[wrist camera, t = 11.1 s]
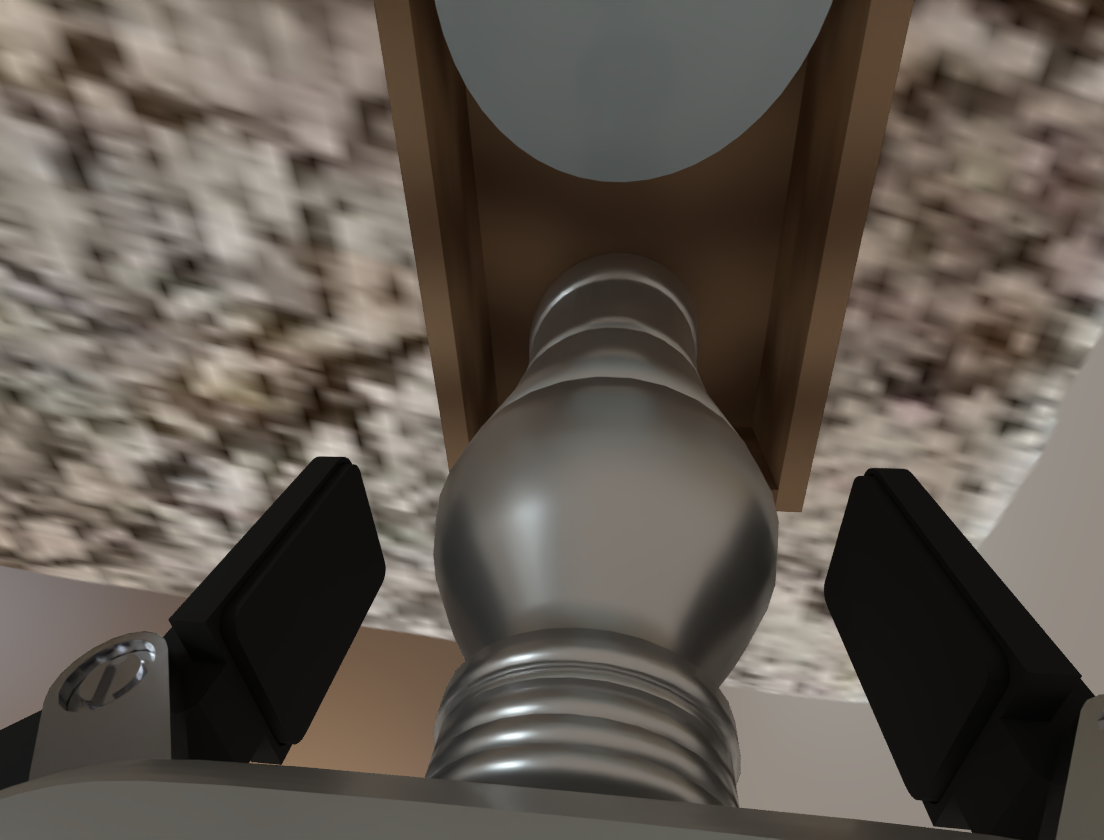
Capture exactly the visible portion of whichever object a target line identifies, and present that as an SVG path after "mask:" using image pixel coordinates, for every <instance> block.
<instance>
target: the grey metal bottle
mask: <svg viewBox="0 0 1104 840" xmlns="http://www.w3.org/2000/svg"><path fill="white" fill-rule="evenodd" d="M698 349H699V319H698V315H697V311H696V307H695V303H694V301H693V299H692V297H691V295H690V293H689V291H688V289H687V288H686V287H685V285H684V284H683V283H682V282H681V281H680V279H679V278H678V277H677V276H676V275H675V274H674V273H672V272H671V271H670V270H668V269H667V268H666V267H664V266H663V265H661V264H659V263H657V262H655V261H653V260H651V259H648V258H646V257H642V256H638V255H634V254H629V253H610V254H604V255H599V256H595V257H592V258H590V259H587V260H585V261H582V262H580V263H577V264H576V265H574V266H573V267H571V268H570V269H568V270H566V271H565V272H563V273H562V274H561V275H560V276H559V277H558V278H557V279H556V280H555V281H554V282H553V283H552V284H551V285H550V286H549V287H548V289H547V290H546V292H545V293H544V295H543V296H542V297H541V299H540V301H539V304H538V306H537V308H536V310H535V313H534V316H533V321H532V325H531V331H530V339H529V358H530V360H529V365H528V368H527V370H526V372H525V374H524V375H523V376H522V378H521V380H520V382H519V383H518V385H517V387H516V389H515V390H514V391H513V392H512V393H511V395H510V396H509V397H508V398H507V399H506V400H505V401H504V402H503V404H502V405H501V406H500V407H499V408H498V409H497V410H496V411H495V413H494V414H493V415H492V416H491V417H490V418H489V419H488V420H487V422H486V423H485V424H484V425H483V426H482V427H481V428H480V429H479V431H478V432H477V433H476V435H475V436H474V437H473V439H472V440H471V442H470V443H469V444H468V446H467V447H466V448H465V450H464V451H463V453H462V454H461V456H460V458H459V459H458V461H457V462H456V463H455V465H454V466H453V468H452V469H451V471H450V473H449V475H448V477H447V480H446V482H445V484H444V487H443V489H442V492H441V494H440V497H439V503H438V510H437V516H436V524H435V539H434V554H433V555H434V566H435V576H436V581H437V584H438V588H439V591H440V594H441V598H442V601H443V604H444V608H445V611H446V614H447V617H448V621H449V623H450V626H451V629H452V632H453V635H454V638H455V640H456V642H457V644H458V646H459V649H460V651H461V653H462V655H463V657H464V659H465V662H464V663H463V664H462V665H461V666H460V667H459V668H458V669H457V670H456V671H455V673H454V674H453V676H452V678H451V680H450V681H449V683H448V685H447V687H446V690H445V693H444V696H443V699H442V702H441V705H440V708H439V710H438V714H437V716H436V721H435V726H434V731H433V740H434V751H433V754H432V757H431V760H430V763H429V767H428V769H427V772H426V775H425V778H432V779H443V780H454V781H465V782H476V783H487V784H497V785H508V786H519V787H529V788H540V789H551V790H562V791H572V792H583V793H593V794H604V795H614V796H625V797H635V798H646V799H656V800H667V801H677V802H687V803H697V804H707V805H717V806H727V807H737V808H739V803H738V796H737V789H736V785H737V782H738V779H739V776H740V749H739V743H738V737H737V731H736V725H735V720H734V717H733V714H732V711H731V708H730V705H729V702H728V700H727V699H726V698H725V696H724V695H723V693H722V692H721V690H720V689H719V687H720V686H721V684H722V683H723V682H724V680H725V679H726V678H727V676H728V675H729V674H730V672H731V671H732V670H733V669H734V667H735V665H736V664H737V662H738V661H739V659H740V657H741V656H742V654H743V653H744V651H745V650H746V648H747V646H748V644H749V642H750V640H751V639H752V637H753V635H754V633H755V631H756V629H757V627H758V626H759V624H760V622H761V620H762V618H763V616H764V615H765V613H766V611H767V609H768V606H769V603H770V599H771V596H772V593H773V590H774V587H775V580H776V565H777V549H778V525H779V521H778V516H777V512H776V508H775V503H774V499H773V495H772V492H771V490H770V488H769V486H768V484H767V482H766V480H765V478H764V476H763V474H762V473H761V471H760V469H759V467H758V465H757V463H756V462H755V460H754V458H753V457H752V455H751V453H750V451H749V450H748V448H747V446H746V444H745V442H744V441H743V440H742V439H741V437H740V436H739V435H738V433H737V432H736V431H735V429H734V428H733V427H732V426H731V424H730V423H729V422H728V420H727V419H726V418H725V416H724V415H723V414H722V412H721V411H720V410H719V408H718V407H717V406H716V405H715V403H714V402H713V401H712V399H711V398H710V397H709V395H708V394H707V392H706V389H705V387H704V385H703V383H702V381H701V379H700V376H699V374H698V372H697V363H696V361H697V355H698Z"/></svg>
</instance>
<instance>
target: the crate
mask: <svg viewBox="0 0 1104 840" xmlns="http://www.w3.org/2000/svg"><path fill="white" fill-rule="evenodd" d="M913 2H914V0H833V1H832V4H831V7H830V9H829V11H828V14H827V16H826V18H825V20H824V23H823V25H822V27H821V29H820V32H819V34H818V36H817V38H816V40H815V42H814V44H813V45H812V47H811V49H810V51H809V52H808V54H807V56H806V58H805V60H804V61H803V63H802V65H801V67H800V68H799V70H798V71H797V72H796V74H795V75H794V77H793V78H792V79H791V81H790V82H789V84H788V85H787V86H786V88H785V89H784V91H783V92H782V93H781V95H780V96H779V97H778V98H777V99H776V100H775V101H774V103H773V104H772V105H771V106H770V107H769V108H768V109H767V111H766V112H765V113H764V114H763V115H762V116H761V117H760V118H759V119H758V120H757V121H756V122H755V123H753V124H752V125H751V126H750V127H749V128H748V129H747V130H746V131H745V132H744V133H743V134H741V135H740V136H739V137H738V138H736V139H735V140H733V141H732V142H731V143H729V144H728V145H727V146H725V147H724V148H722V149H721V150H720V151H718V152H716V153H715V154H713V155H711V156H709V157H707V158H706V159H704V160H702V161H700V162H698V163H697V164H695V165H692V166H690V167H687V168H685V169H682V170H680V171H677V172H675V173H672V174H668V175H664V176H660V177H657V178H653V179H649V180H640V181H631V182H606V181H597V180H591V179H586V178H580V177H577V176H574V175H571V174H568V173H565V172H562V171H559V170H557V169H555V168H553V167H550V166H548V165H546V164H544V163H542V162H540V161H538V160H537V159H535V158H534V157H532V156H531V155H529V154H528V153H526V152H525V151H523V150H522V149H521V148H519V147H518V146H516V145H515V144H514V143H513V142H512V141H511V140H510V139H509V138H508V137H506V136H505V135H504V134H503V133H502V132H501V131H500V130H499V129H498V128H497V127H496V126H495V125H494V123H493V122H492V121H491V120H490V119H489V118H488V116H487V115H486V114H485V113H484V112H483V111H482V109H481V108H480V106H479V105H478V103H477V102H476V100H475V99H474V97H473V96H472V94H471V93H470V91H469V90H468V88H467V86H466V85H465V83H464V81H463V79H462V77H461V75H460V73H459V71H458V69H457V67H456V65H455V63H454V61H453V58H452V56H451V53H450V50H449V48H448V45H447V43H446V40H445V38H444V35H443V31H442V27H441V24H440V20H439V16H438V13H437V9H436V5H435V0H374V6H375V12H376V18H377V24H378V31H379V37H380V43H381V49H382V56H383V62H384V68H385V74H386V80H387V87H388V93H389V99H390V105H391V112H392V118H393V124H394V130H395V137H396V143H397V149H398V155H399V161H400V168H401V174H402V180H403V186H404V193H405V199H406V205H407V211H408V217H409V224H410V230H411V236H412V242H413V249H414V255H415V261H416V267H417V274H418V280H419V286H420V292H421V298H422V305H423V311H424V317H425V323H426V330H427V336H428V342H429V348H430V354H431V361H432V367H433V373H434V379H435V386H436V392H437V398H438V404H439V411H440V417H441V423H442V429H443V435H444V442H445V448H446V454H447V460H448V467H449V473H450V471H451V469H452V468H453V466H454V465H455V463H456V462H457V461H458V459H459V458H460V456H461V454H462V453H463V451H464V450H465V448H466V447H467V446H468V444H469V443H470V442H471V440H472V439H473V437H474V436H475V435H476V433H477V432H478V431H479V429H480V428H481V427H482V426H483V425H484V424H485V423H486V422H487V420H488V419H489V418H490V417H491V416H492V415H493V414H494V413H495V411H496V410H497V409H498V408H499V407H500V406H501V405H502V404H503V402H504V401H505V400H506V399H507V398H508V397H509V396H510V395H511V393H512V392H513V391H514V390H515V389H516V387H517V385H518V383H519V382H520V380H521V378H522V376H523V375H524V374H525V372H526V370H527V368H528V365H529V360H530V358H529V339H530V331H531V325H532V321H533V316H534V313H535V310H536V308H537V306H538V304H539V301H540V299H541V297H542V296H543V295H544V293H545V292H546V290H547V289H548V287H549V286H550V285H551V284H552V283H553V282H554V281H555V280H556V279H557V278H558V277H559V276H560V275H561V274H562V273H563V272H565V271H566V270H568V269H570V268H571V267H573V266H574V265H576V264H577V263H580V262H582V261H585V260H587V259H590V258H592V257H595V256H599V255H604V254H610V253H629V254H634V255H638V256H642V257H646V258H648V259H651V260H653V261H655V262H657V263H659V264H661V265H663V266H664V267H666V268H667V269H668V270H670V271H671V272H672V273H674V274H675V275H676V276H677V277H678V278H679V279H680V281H681V282H682V283H683V284H684V285H685V287H686V288H687V289H688V291H689V293H690V295H691V297H692V299H693V301H694V303H695V307H696V311H697V315H698V319H699V349H698V355H697V361H696V363H697V372H698V374H699V376H700V379H701V381H702V383H703V385H704V387H705V389H706V392H707V394H708V395H709V397H710V398H711V399H712V401H713V402H714V403H715V405H716V406H717V407H718V408H719V410H720V411H721V412H722V414H723V415H724V416H725V418H726V419H727V420H728V422H729V423H730V424H731V426H732V427H733V428H734V429H735V431H736V432H737V433H738V435H739V436H740V437H741V439H742V440H743V441H744V442H745V444H746V446H747V448H748V450H749V451H750V453H751V455H752V457H753V458H754V460H755V462H756V463H757V465H758V467H759V469H760V471H761V473H762V474H763V476H764V478H765V480H766V482H767V484H768V486H769V488H770V490H771V492H772V495H773V499H774V503H775V508H776V511H786V512H802V508H803V503H804V499H805V494H806V489H807V485H808V480H809V476H810V471H811V467H812V462H813V458H814V453H815V448H816V444H817V439H818V435H819V430H820V426H821V421H822V417H823V412H824V408H825V403H826V398H827V394H828V389H829V385H830V380H831V376H832V371H833V367H834V362H835V357H836V353H837V348H838V344H839V339H840V335H841V330H842V326H843V321H844V316H845V312H846V307H847V303H848V298H849V294H850V289H851V285H852V280H853V276H854V271H855V266H856V262H857V257H858V253H859V248H860V244H861V239H862V235H863V230H864V225H865V221H866V216H867V212H868V207H869V203H870V198H871V194H872V189H873V185H874V180H875V175H876V171H877V166H878V162H879V157H880V153H881V148H882V144H883V139H884V134H885V130H886V125H887V121H888V116H889V112H890V107H891V103H892V98H893V94H894V89H895V84H896V80H897V75H898V71H899V66H900V62H901V57H902V53H903V48H904V43H905V39H906V34H907V30H908V25H909V21H910V16H911V12H912V7H913Z"/></svg>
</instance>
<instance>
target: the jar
mask: <svg viewBox="0 0 1104 840" xmlns="http://www.w3.org/2000/svg"><path fill="white" fill-rule="evenodd" d="M832 1H833V0H435V5H436V9H437V13H438V16H439V20H440V24H441V27H442V31H443V35H444V38H445V40H446V43H447V45H448V48H449V50H450V53H451V56H452V58H453V61H454V63H455V65H456V67H457V69H458V71H459V73H460V75H461V77H462V79H463V81H464V83H465V85H466V86H467V88H468V90H469V91H470V93H471V94H472V96H473V97H474V99H475V100H476V102H477V103H478V105H479V106H480V108H481V109H482V111H483V112H484V113H485V114H486V115H487V116H488V118H489V119H490V120H491V121H492V122H493V123H494V125H495V126H496V127H497V128H498V129H499V130H500V131H501V132H502V133H503V134H504V135H505V136H506V137H508V138H509V139H510V140H511V141H512V142H513V143H514V144H515V145H516V146H518V147H519V148H521V149H522V150H523V151H525V152H526V153H528V154H529V155H531V156H532V157H534V158H535V159H537V160H538V161H540V162H542V163H544V164H546V165H548V166H550V167H553V168H555V169H557V170H559V171H562V172H565V173H568V174H571V175H574V176H577V177H580V178H586V179H591V180H597V181H606V182H631V181H640V180H649V179H653V178H657V177H660V176H664V175H668V174H672V173H675V172H677V171H680V170H682V169H685V168H687V167H690V166H692V165H695V164H697V163H698V162H700V161H702V160H704V159H706V158H707V157H709V156H711V155H713V154H715V153H716V152H718V151H720V150H721V149H722V148H724V147H725V146H727V145H728V144H729V143H731V142H732V141H733V140H735V139H736V138H738V137H739V136H740V135H741V134H743V133H744V132H745V131H746V130H747V129H748V128H749V127H750V126H751V125H752V124H753V123H755V122H756V121H757V120H758V119H759V118H760V117H761V116H762V115H763V114H764V113H765V112H766V111H767V109H768V108H769V107H770V106H771V105H772V104H773V103H774V101H775V100H776V99H777V98H778V97H779V96H780V95H781V93H782V92H783V91H784V89H785V88H786V86H787V85H788V84H789V82H790V81H791V79H792V78H793V77H794V75H795V74H796V72H797V71H798V70H799V68H800V67H801V65H802V63H803V61H804V60H805V58H806V56H807V54H808V52H809V51H810V49H811V47H812V45H813V44H814V42H815V40H816V38H817V36H818V34H819V32H820V29H821V27H822V25H823V23H824V20H825V18H826V16H827V14H828V11H829V9H830V7H831V4H832Z"/></svg>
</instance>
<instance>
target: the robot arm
mask: <svg viewBox="0 0 1104 840" xmlns="http://www.w3.org/2000/svg"><path fill="white" fill-rule="evenodd" d="M385 571H386V567H385V561H384V557H383V554H382V550H381V546H380V543H379V539H378V535H377V532H376V528H375V524H374V521H373V517H372V513H371V510H370V506H369V502H368V498H367V495H366V491H365V487H364V484H363V480H362V476H361V473H360V470H359V468H358V466H357V465H355V464H352V463H351V461H350V460H349V459H348V458H346V457H316V458H315V459H313V460H312V461H311V462H310V463H309V464H308V466H307V467H306V468H305V469H304V470H303V471H302V472H301V473H300V474H299V476H298V477H297V478H296V479H295V480H294V481H293V482H292V483H291V484H290V486H289V487H288V488H287V489H286V490H285V491H284V492H283V493H282V494H281V495H280V497H279V498H278V499H277V500H276V501H275V502H274V503H273V504H272V505H271V507H270V508H269V509H268V510H267V511H266V512H265V513H264V514H263V515H262V517H261V518H260V519H259V520H258V521H257V522H256V523H255V524H254V525H253V526H252V528H251V529H250V530H249V531H248V532H247V533H246V534H245V535H244V536H243V538H242V539H241V540H240V541H239V542H238V543H237V544H236V545H235V546H234V548H233V549H232V550H231V551H230V552H229V553H228V554H227V555H226V556H225V557H224V559H223V560H222V561H221V562H220V563H219V564H218V565H217V566H216V567H215V569H214V570H213V571H212V572H211V573H210V574H209V575H208V576H207V577H206V579H205V580H204V581H203V582H202V583H201V584H200V585H199V586H198V587H197V588H196V590H195V591H194V592H193V593H192V594H191V595H190V596H189V597H188V598H187V600H186V601H185V602H184V603H183V604H182V605H181V607H179V608H178V610H177V611H176V612H175V613H174V614H173V615H172V616H171V617H170V618H169V622H170V623H171V625H172V628H171V629H170V630H169V631H168V632H167V633H166V634H165V636H164V637H161V636H160V635H159V634H157V633H153V632H146V631H143V632H135V633H128V634H125V635H122V636H119V637H116V638H113V639H111V640H108V641H106V642H105V643H103V644H101V645H98V646H96V647H94V648H93V649H91V650H90V651H88V652H87V653H85V654H84V655H82V656H81V657H79V658H78V659H76V660H75V661H74V662H73V663H72V664H71V665H70V666H68V668H66V669H65V670H64V671H63V672H62V673H61V674H60V675H59V677H58V678H57V679H56V680H55V682H54V683H53V684H52V685H51V687H50V688H49V691H48V693H47V695H46V698H45V700H44V703H43V708H42V710H41V711H39V712H37V713H35V714H32V715H31V716H28V717H26V718H24V719H22V720H20V721H18V722H16V723H14V724H12V725H10V726H8V727H6V728H4V729H2V730H0V840H1104V695H1098V696H1094V694H1093V693H1092V692H1091V691H1090V689H1089V688H1088V687H1087V686H1086V685H1085V684H1084V682H1083V681H1082V680H1081V679H1080V678H1081V677H1082V675H1081V674H1080V673H1079V672H1078V671H1077V670H1076V668H1075V667H1074V666H1073V665H1072V663H1071V662H1070V661H1069V660H1068V659H1067V658H1066V657H1065V655H1064V654H1063V653H1062V652H1061V650H1060V649H1059V648H1058V647H1057V646H1056V644H1054V642H1053V641H1052V640H1051V638H1049V636H1048V635H1047V634H1046V633H1045V631H1044V630H1043V629H1042V628H1041V627H1040V625H1039V624H1038V623H1037V622H1036V621H1035V619H1034V618H1033V617H1032V616H1031V615H1030V613H1029V612H1028V611H1027V610H1026V609H1025V608H1024V606H1023V605H1022V604H1021V603H1020V602H1019V600H1018V599H1017V598H1016V597H1015V596H1014V594H1013V593H1012V592H1011V591H1010V590H1009V589H1008V587H1007V586H1006V585H1005V584H1004V583H1003V581H1002V580H1001V579H1000V578H999V577H998V576H997V574H996V573H995V572H994V571H993V569H992V568H991V567H990V566H989V565H988V563H987V562H986V561H985V560H984V559H983V558H982V556H981V555H980V554H979V553H978V552H977V550H976V549H975V548H974V547H973V546H972V544H971V543H970V542H969V541H968V540H967V538H966V537H965V536H964V535H963V534H962V532H961V531H960V530H959V529H958V528H957V527H956V525H955V524H954V523H953V522H952V521H951V519H950V518H949V517H948V516H947V515H946V513H945V512H944V511H943V510H942V509H941V507H940V506H939V505H938V504H937V503H936V502H935V500H934V499H933V498H932V497H931V496H930V494H929V493H928V492H927V491H926V490H925V488H924V487H923V486H922V485H921V484H920V482H919V481H918V480H917V479H916V478H915V477H914V475H913V474H912V473H911V472H910V471H909V470H907V469H891V468H870V469H868V470H867V471H866V472H865V474H864V476H858V477H856V478H855V480H854V482H853V485H852V489H851V492H850V496H849V499H848V503H847V506H846V510H845V513H844V517H843V520H842V524H841V527H840V531H839V534H838V538H837V541H836V545H835V549H834V552H833V556H832V559H831V563H830V566H829V570H828V573H827V577H826V580H825V584H824V596H825V601H826V604H827V607H828V609H829V611H830V614H831V616H832V618H833V620H834V623H835V625H836V627H837V630H838V632H839V634H840V637H841V639H842V641H843V643H844V646H845V648H846V650H847V653H848V655H849V657H850V660H851V662H852V664H853V666H854V669H855V671H856V673H857V676H858V678H859V680H860V683H861V685H862V687H863V690H864V692H865V694H866V696H867V699H868V701H869V703H870V706H871V708H872V710H873V713H874V715H875V717H876V719H877V722H878V724H879V726H880V728H881V731H882V733H883V736H884V738H885V740H886V742H887V745H888V747H889V749H890V752H891V754H892V756H893V759H894V761H895V763H896V766H897V768H898V770H899V772H900V775H901V777H902V779H903V782H904V784H905V786H906V788H907V790H908V792H909V793H910V794H911V796H912V797H913V798H914V799H916V800H922V802H923V804H924V806H925V808H926V811H927V813H928V815H929V817H930V819H931V822H932V824H933V826H937V827H946V828H957V829H967V830H971V831H972V833H969V832H959V831H952V830H943V829H934V828H926V827H917V826H909V825H900V824H891V823H883V822H874V821H866V820H858V819H847V818H837V817H827V816H817V815H806V814H797V813H787V812H777V811H766V810H757V809H747V808H737V807H727V806H717V805H707V804H697V803H687V802H677V801H667V800H656V799H646V798H635V797H625V796H614V795H604V794H593V793H583V792H572V791H562V790H551V789H540V788H529V787H519V786H508V785H497V784H487V783H476V782H465V781H454V780H443V779H432V778H420V777H409V776H397V775H386V774H375V773H363V772H352V771H341V770H330V769H319V768H307V767H296V766H281V764H282V763H283V761H284V759H285V757H286V755H287V753H288V751H289V750H290V748H291V746H292V744H297V743H299V742H300V741H301V740H302V739H303V737H304V735H305V734H306V732H307V730H308V728H309V726H310V724H311V722H312V720H313V718H314V716H315V714H316V712H317V710H318V708H319V706H320V704H321V702H322V700H323V698H324V697H325V695H326V692H327V691H328V689H329V686H330V685H331V683H332V681H333V679H334V677H335V675H336V673H337V671H338V669H339V667H340V665H341V663H342V661H343V659H344V657H345V655H346V653H347V651H348V649H349V648H350V645H351V644H352V642H353V640H354V638H355V636H356V634H357V632H358V630H359V628H360V626H361V624H362V622H363V620H364V618H365V616H366V614H367V612H368V610H369V608H370V606H371V604H372V602H373V601H374V599H375V597H376V595H377V593H378V591H379V589H380V587H381V585H382V583H383V580H384V577H385ZM250 760H251V762H258V763H268V764H279V765H266V764H252V763H249V762H250Z"/></svg>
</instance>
